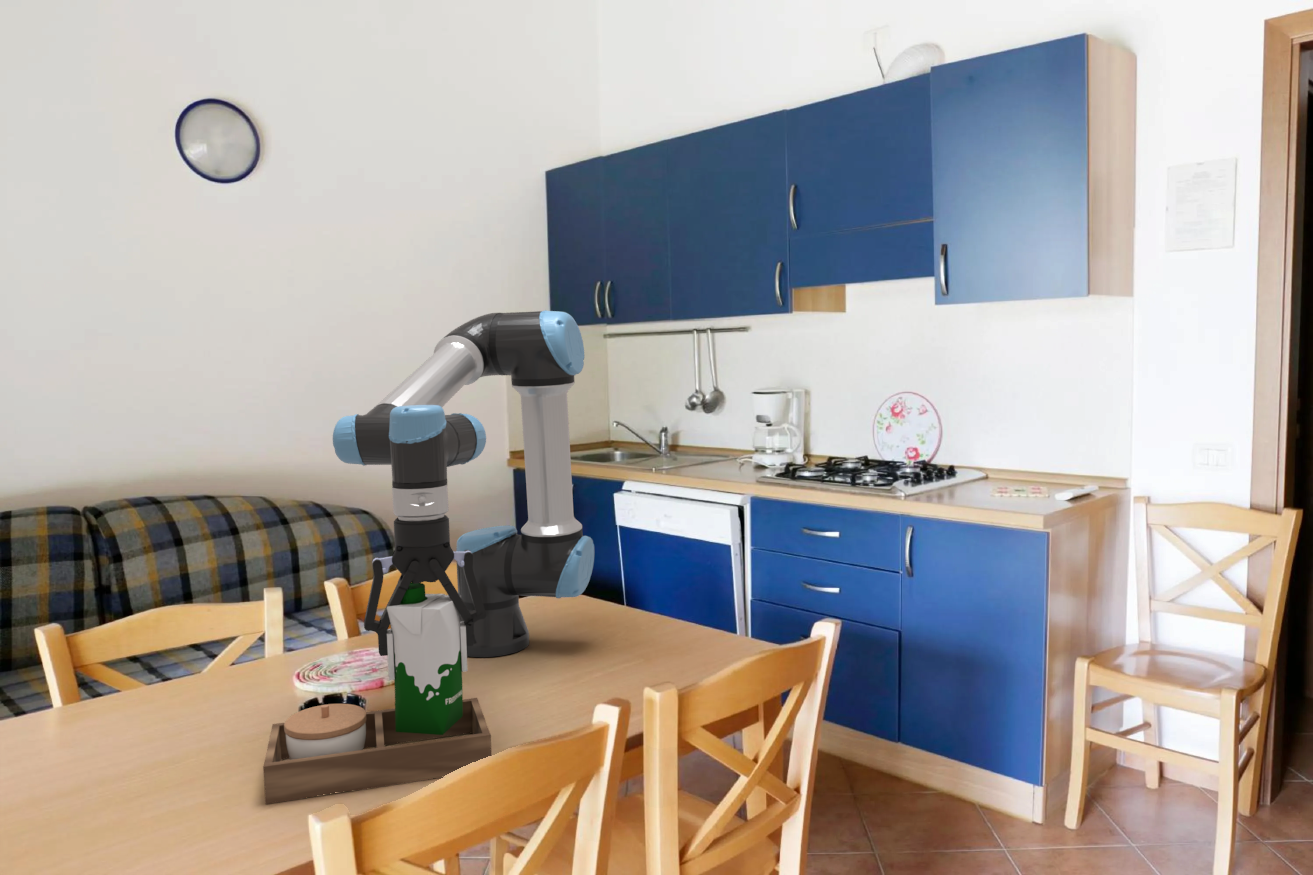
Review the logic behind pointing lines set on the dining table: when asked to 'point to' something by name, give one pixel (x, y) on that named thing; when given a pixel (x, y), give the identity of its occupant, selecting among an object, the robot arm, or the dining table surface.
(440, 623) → the soya milk
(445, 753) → the organizer
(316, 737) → the lidded jar
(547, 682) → the dining table surface
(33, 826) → the dining table surface
